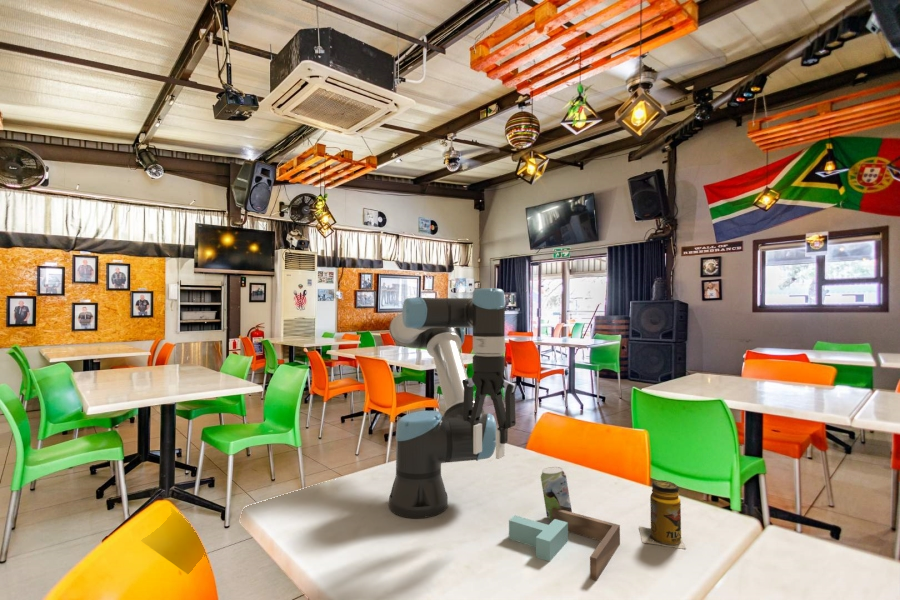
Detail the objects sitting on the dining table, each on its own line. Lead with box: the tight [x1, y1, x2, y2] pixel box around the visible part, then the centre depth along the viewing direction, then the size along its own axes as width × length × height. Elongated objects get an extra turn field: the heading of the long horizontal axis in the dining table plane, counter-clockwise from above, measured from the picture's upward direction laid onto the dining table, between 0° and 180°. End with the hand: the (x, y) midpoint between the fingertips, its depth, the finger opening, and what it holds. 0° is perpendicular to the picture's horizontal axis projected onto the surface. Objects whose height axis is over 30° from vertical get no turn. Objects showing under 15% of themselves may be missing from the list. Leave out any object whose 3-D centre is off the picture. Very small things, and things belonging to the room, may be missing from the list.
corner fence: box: [551, 508, 621, 582], centre depth 94 cm, size 15×16×4 cm
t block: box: [508, 514, 569, 562], centre depth 96 cm, size 11×10×4 cm
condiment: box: [638, 479, 686, 550], centre depth 99 cm, size 7×8×12 cm
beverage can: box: [540, 466, 573, 522], centre depth 108 cm, size 6×7×12 cm
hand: (488, 454), depth 104 cm, fingers open, 5 cm apart
